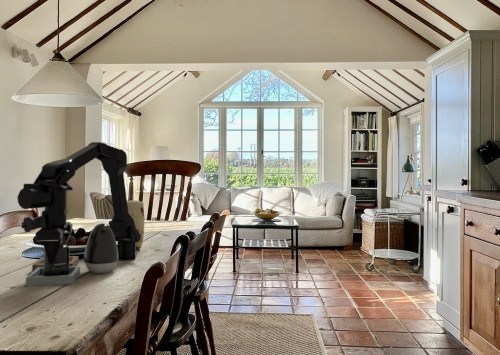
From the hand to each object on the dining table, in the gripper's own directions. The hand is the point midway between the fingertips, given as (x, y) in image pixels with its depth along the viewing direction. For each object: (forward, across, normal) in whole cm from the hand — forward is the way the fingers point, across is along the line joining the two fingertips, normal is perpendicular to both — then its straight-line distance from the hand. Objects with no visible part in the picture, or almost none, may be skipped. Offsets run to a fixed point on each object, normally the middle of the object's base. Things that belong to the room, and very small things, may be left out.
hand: (54, 260), depth 119 cm
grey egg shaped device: (+6, -7, +12) cm, 15 cm away
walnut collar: (+6, -14, -2) cm, 16 cm away
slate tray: (+6, 0, 0) cm, 6 cm away
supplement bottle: (+5, 0, 0) cm, 5 cm away
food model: (+6, -43, +20) cm, 48 cm away
